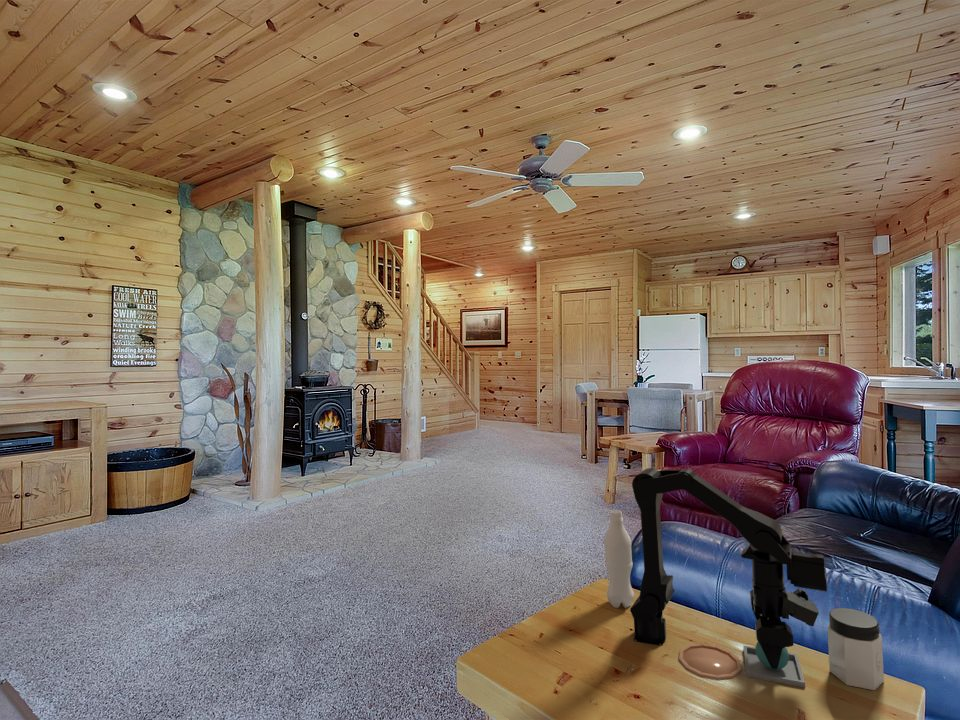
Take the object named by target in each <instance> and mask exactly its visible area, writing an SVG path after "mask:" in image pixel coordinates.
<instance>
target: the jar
mask: <svg viewBox="0 0 960 720" xmlns="http://www.w3.org/2000/svg"><path fill="white" fill-rule="evenodd" d="M828 617H829V618H828V619H829V625H827V643H828V644H827V645H828V646H827V648H828V663H829V664H828V665H829V672H830V673H831V674H833V675H834V676H835V677H836V678H838V679H839V680H840V681H841V682H842V683H844V684H845V685H847V686H850V687H856V688H861V689H866V690H871V691H876V690H877V688H879V686H881V685H882V684H883V683H884V681H885V678H884V677H885V676H884V659H883V658H884V657H883V655H884V654H883V653H884V652H883V637H882V634H881V633H880V631H881V630H880V623H879V621H878V619H877V618H875V617H874V616H873V615H871V614H869V613H867V612H864V611H861V610H858V609H854V608H846V607H836V608H833V609H831V610H830V611H829V613H828Z"/></svg>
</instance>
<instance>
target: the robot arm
mask: <svg viewBox="0 0 960 720" xmlns="http://www.w3.org/2000/svg"><path fill="white" fill-rule="evenodd" d="M631 483H632V484H631V487H632V492H633V495H634V500H635V501H636V504H637V506H638V508H639V511H640V521H641V522H640V523H641V525H640V526H641V536H642V538H641V540H642V542H641V543H642V555H643V567H644V568H643V573H642V580H641V583H640V589H639V595H638V597H637V598H636V600H635V601H634V602H633V603H632V604H631V606H630V608H629V611H630V613H631V617H632V618H633V626H634V628H633V633H634V636H633V641H634V642H637V643H643V644H648V645H654V646H659V647H662V646H664V642H666V640H667V623H666V618H664V615H663V612H664V611H665V609H666V607H667V605H668V604H669V602H670V600H671V599H672V596H673V595H674V594H675V589H674V586H673V581H674V575H672V574H671V575H669V574H667V572H666V570H665V568H664V553H663V539H662V523H661V504H662V501H663V496H664V493H670V492H675V491H682V490H683V491H685V492H687V494H689V495H691V496H692V497H694V498H695V499H696V500H697V501H699V502H701V503H702V504H703V505H705V506H706V507H708V508H709V509H711V510H712V512H715V513H716V514H717V515H719V516H720V517H721V518H723V519H725V520H726V521H727V522H728V523H730V524H731V525H732V526H733V527H734V528H735V529H736V530H737V531H738V533H739V534H740V535H741V536H742V538H744V540H745V541H746V542H747V543H748V546H747V547H746V548H744V549H742V551H741V554H740V556H741V558H742V559H747V560H751V570H752V573H751V574H752V579H751V582H752V583H751V584H752V589H751V590H750V591H749V599H750V605H751V610H752V613H753V615H754V618H755V620H756V621H755V622H754V625H755V626H754V627H755V628H754V630H755V636H756V641H757V642H759V644H760V646H761V648H762V650H763V652H764V654H765V656H766V658H767V660H768V662H769V664H770V666H771V668H773V669H778V665H779V661H780V657H781V653H782V650H783V648H785V647H786V648H790V647H793V646H794V635H793V631H792V627H791V626H790V625H789V624H788V623H787V622H785V621H782V620H781V619H784V620H790V617H791V618H793V619H796V620H797V621H801V622H803V623H804V624H805V625H807V626H809V627H814V625H815V623H816V620H817V618H818V616H819V613H820V612H819V608H818V607H817V605H816V603H814V602H813V600H811V599H810V600H809V595H808V592H807V591H806V590H807V589H808V590H813V591H819V592H825V593H827V592H828V587H827V586H828V584H827V582H828V581H827V568H826V567H825V566H826V565H825V556H824V554H818V553H814V554H813V553H812V554H811V553H805V552H798V551H794V547H793V546H792V544H791V543H790V542H789V541H788V540H787V538H786V537H785V536H784V534H783V529H782V527H781V524H779V522H778V521H777V520H776V519H774V518H771V517H769V516H767V515H765V514H764V513H761V512H759V511H756V510H753V509H750V508H748V507H745V506H743V505H742V504H740V503H738V502H737V501H736V500H734V499H733V498H731V497H730V496H728V495H727V494H725V493H724V492H723V491H721V490H720V489H718V488H717V487H715V486H714V485H712V484H711V483H710V482H708V481H706V480H705V479H703V478H702V477H700V476H699V475H697V474H696V472H694V470H692V469H691V468H682V469H665V470H657V469H656V468H652V467H651V468H650V467H649V468H646V469H644V470H642V471H641V472H639V473H638V474H636V475H635V477H634V478H633V479H632V482H631ZM784 565H786V578H787V580H788V581H790V585H793V587H795V588H797V589H796V590H794V591H790V592H789V591H786V585H785V579H784V577H785V576H784ZM801 588H802V589H801ZM804 589H806V590H804Z"/></svg>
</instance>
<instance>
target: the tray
mask: <svg viewBox="0 0 960 720" xmlns="http://www.w3.org/2000/svg"><path fill="white" fill-rule="evenodd" d="M743 655H744V665H745V673H746V677H747V678H754V679H757V680H764V681H767V682H774V683H779V684H783V685H790V686H795V687H800V688H801V687H802V688H806V680H805V677H804V674H803V670H802V666H801V663H800V660H799V656H798V653H792V652H788V655H789V660H788V663H787V665H786V666H785V667H784V668H782V669H779V670H774V669H770V668H768V667H766V666H765V665H763V664H762V663H761V662H760V660H759V659H758V657H757V654H756V646H749V645H743Z"/></svg>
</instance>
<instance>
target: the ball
mask: <svg viewBox="0 0 960 720" xmlns="http://www.w3.org/2000/svg"><path fill="white" fill-rule="evenodd" d="M755 647H756V654H757V657H758V659H759V660H760V662H761V663H762V664H763V665H765V666H766V667H768V668H770V669H773V668H771V666H770V664H769V662H768V660H767V658H766V656H765V654H764V652H763V650H762V648H761V646H760V644H759V642H758V641H757V642H756V644H755ZM788 653H789V652H788V649H787V647H785V648H783V650H782V653H781V657H780V661H779V665H778V669H774V670H779V669H782V668H784V667H785V666H786V665H787V663H788V660H789V655H788Z"/></svg>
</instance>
